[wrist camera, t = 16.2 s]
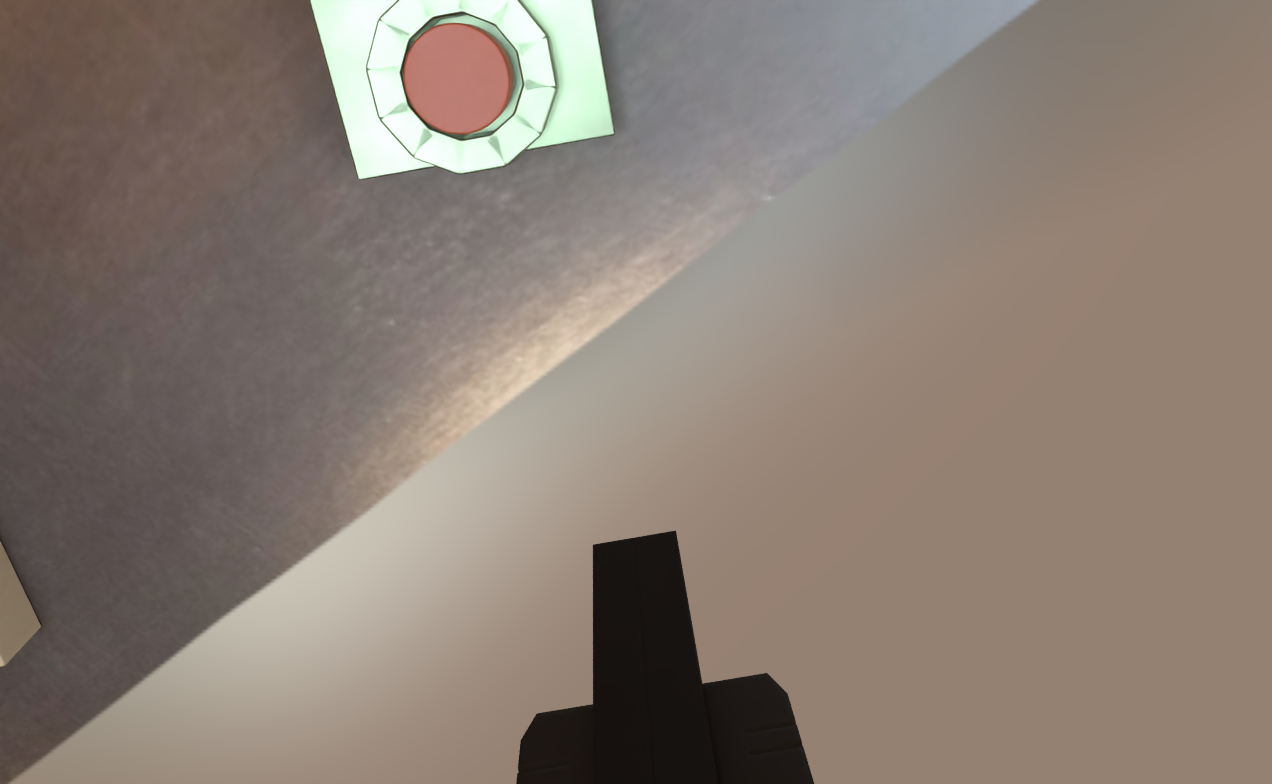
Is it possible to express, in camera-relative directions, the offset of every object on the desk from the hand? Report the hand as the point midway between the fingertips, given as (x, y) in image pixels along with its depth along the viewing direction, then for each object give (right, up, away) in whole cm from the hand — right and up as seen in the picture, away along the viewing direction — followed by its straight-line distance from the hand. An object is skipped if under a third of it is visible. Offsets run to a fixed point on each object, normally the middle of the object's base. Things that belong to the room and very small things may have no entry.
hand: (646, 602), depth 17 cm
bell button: (-6, +15, +16) cm, 23 cm away
